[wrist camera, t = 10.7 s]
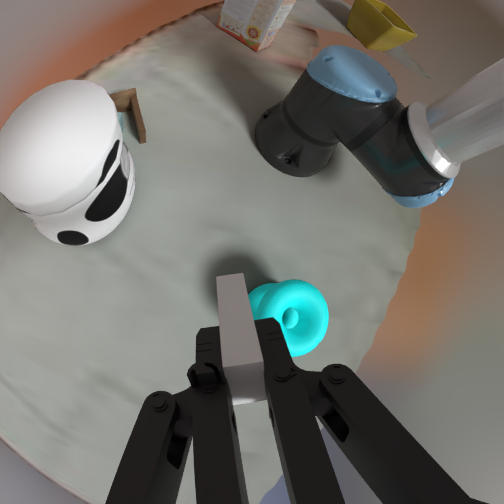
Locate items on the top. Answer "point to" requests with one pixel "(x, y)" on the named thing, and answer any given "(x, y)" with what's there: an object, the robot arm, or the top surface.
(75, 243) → the milk container
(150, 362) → the top surface
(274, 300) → the donuts
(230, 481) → the robot arm
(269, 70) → the top surface
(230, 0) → the cracker box
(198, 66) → the top surface
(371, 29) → the flower pot
